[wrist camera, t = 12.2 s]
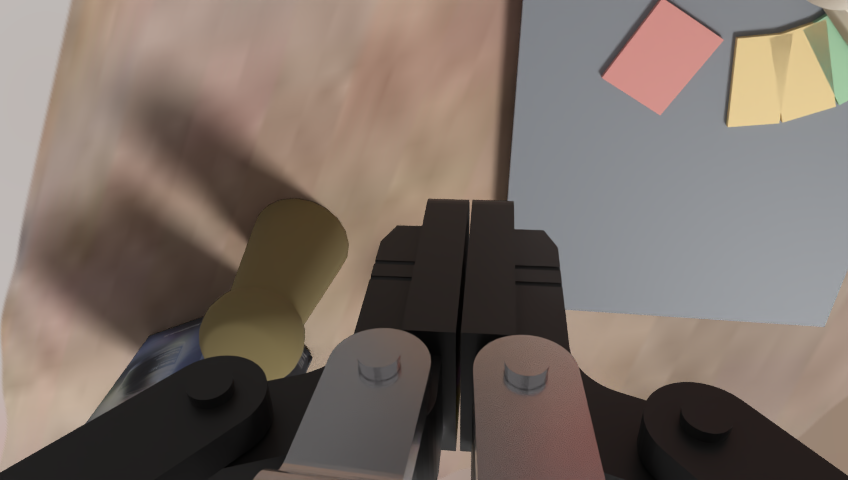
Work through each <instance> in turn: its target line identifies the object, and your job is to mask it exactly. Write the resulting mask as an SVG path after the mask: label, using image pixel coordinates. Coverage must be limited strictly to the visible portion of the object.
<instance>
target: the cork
mask: <svg viewBox="0 0 848 480" xmlns="http://www.w3.org/2000/svg"><path fill="white" fill-rule="evenodd" d="M348 247H349V243H348V239H347V235H346V231H345V230H344V228H343V226H342V225H341V223H340V222H339V220H338V219H337V218H336V217H335V216H334V215H333V214H332V213H331V212H330V211H328V210H327V209H326V208H324V207H322V206H320V205H318V204H316V203H314V202H312V201H307V200H302V199H297V198H295V199H283V200H280V201H277V202H275V203H272V204H270V205H268V206H267V207H266V208H265V209H264V210H263V211H262V212H261V213H260V214H259V216H258V218H257V220H256V222H255V225H254V227H253V230H252V233H251V235H250V238H249V241H248V244H247V247H246V249H245V252H244V255H243V258H242V260H241V263H240V266H239V269H238V271H237V274H236V277H235V280H234V282H233V285H232V288H231V291H230V292H227V293H225V294H224V295H223V296H222V297H220V298H219V299H218V300H217V301H216V302H215V303H213V304H212V305H211V306H210V308H209V309H208V311H207V312H206V314H205V316H204V318H203V321H202V323H201V326H200V330H199V345H200V349H201V352H202V355H203V357H204V359H206V358H209V357H215V356H226V355H230V356H239V357H243V358H247V359H249V360H251V361H253V362H255V363H256V364H258V365H259V366H260V367H261V368H262V369H263V371H264V373H265V375H266V378H267V381H269V380H274V379H279V378H284V377H285V376H287V375H288V374H289V373H290V372H291V371H292V370H293V369H294V368H295V366H296V364H297V363H298V361H299V359H300V357H301V355H302V352H303V350H304V340H305V328H304V324H305V322H306V321H307V319H308V318H309V316H310V315H311V313H312V312H313V310H314V309H315V307H316V305H317V304H318V302H319V301H320V299H321V298H322V296H323V295H324V293H325V292H326V290H327V289H328V287H329V286H330V284H331V282H332V281H333V279H334V278H335V276H336V275H337V273H338V272H339V270H340V269H341V267H342V265H343V264H344V262H345V260H346V258H347V255H348Z"/></svg>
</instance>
